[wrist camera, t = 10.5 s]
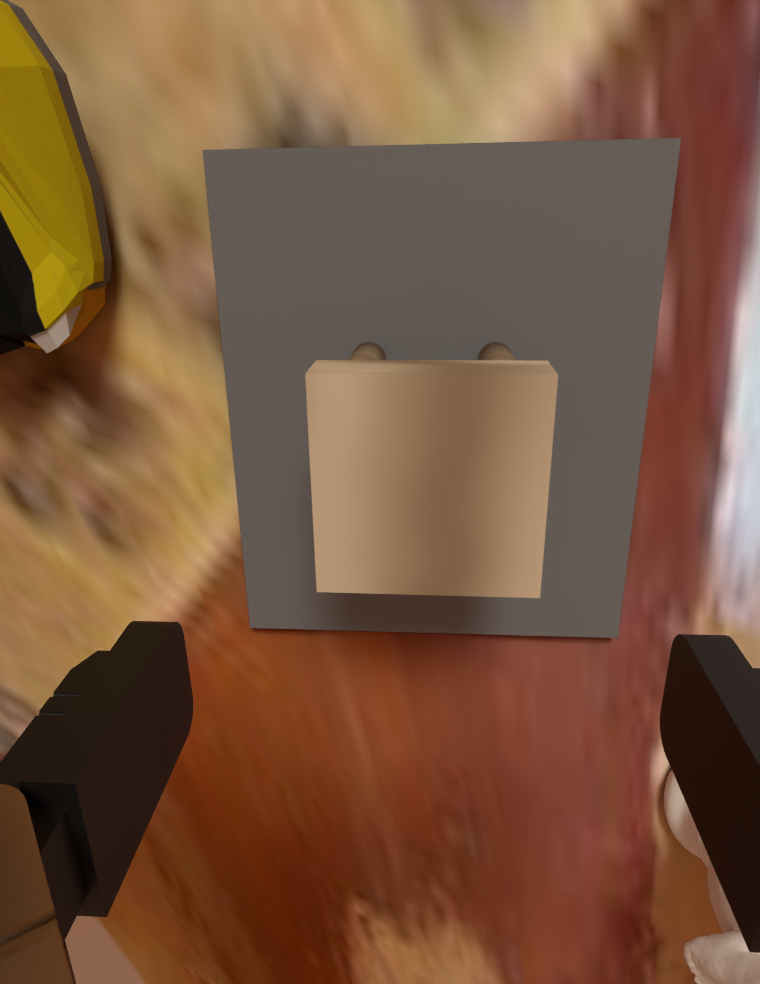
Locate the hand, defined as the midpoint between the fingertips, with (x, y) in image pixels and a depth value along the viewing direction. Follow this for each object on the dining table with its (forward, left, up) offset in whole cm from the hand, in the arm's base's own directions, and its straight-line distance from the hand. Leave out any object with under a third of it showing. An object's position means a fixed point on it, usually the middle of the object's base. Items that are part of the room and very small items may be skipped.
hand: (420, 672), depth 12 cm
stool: (0, 0, -15) cm, 15 cm away
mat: (0, 0, -16) cm, 16 cm away
